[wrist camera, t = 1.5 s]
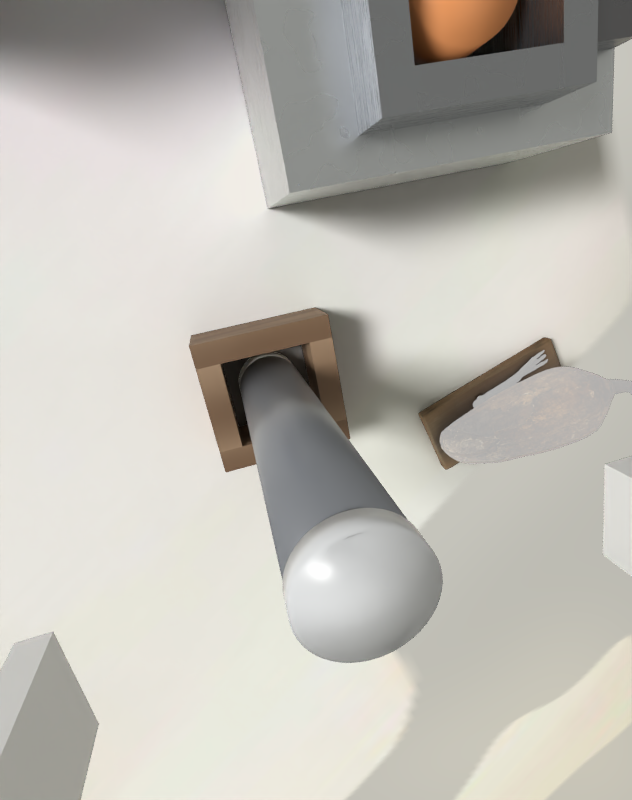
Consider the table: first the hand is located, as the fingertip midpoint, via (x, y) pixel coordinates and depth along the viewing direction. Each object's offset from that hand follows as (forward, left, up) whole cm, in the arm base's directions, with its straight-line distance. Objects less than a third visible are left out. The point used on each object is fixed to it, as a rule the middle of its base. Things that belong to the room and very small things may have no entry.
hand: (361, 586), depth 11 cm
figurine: (+4, +16, -18) cm, 24 cm away
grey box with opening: (-15, +9, -17) cm, 24 cm away
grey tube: (0, 0, -17) cm, 17 cm away
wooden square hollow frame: (0, 0, -17) cm, 17 cm away
